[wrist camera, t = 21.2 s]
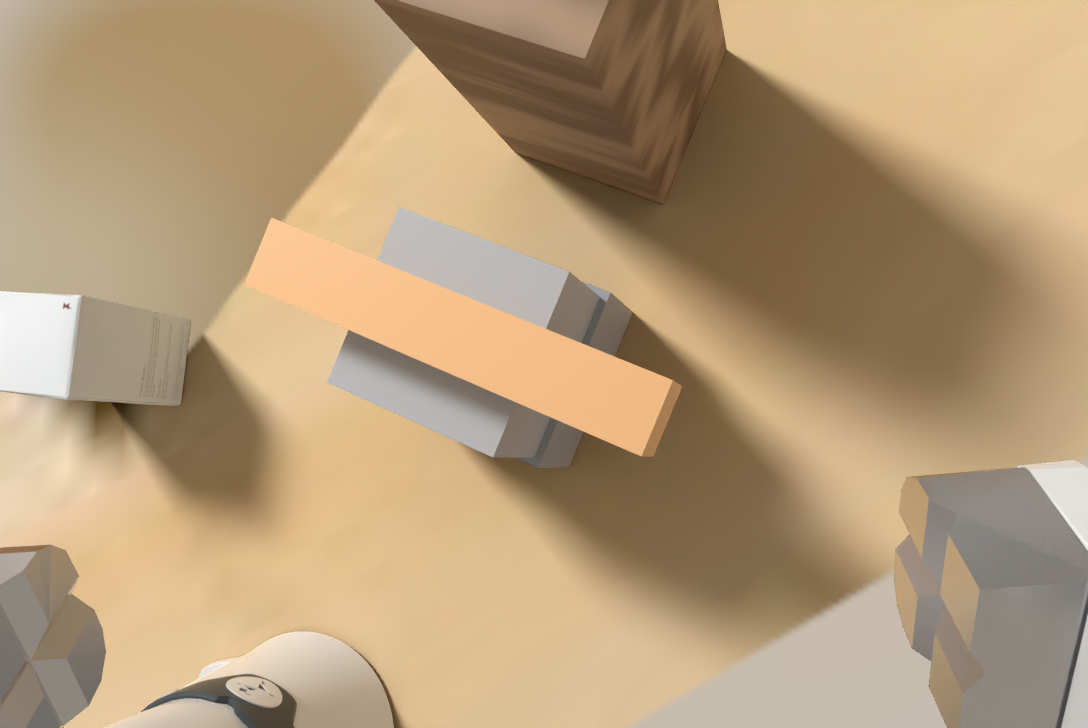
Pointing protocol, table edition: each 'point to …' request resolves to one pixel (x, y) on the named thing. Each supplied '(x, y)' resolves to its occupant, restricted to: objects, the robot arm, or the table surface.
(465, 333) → the orange bar
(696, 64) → the walnut post
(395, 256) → the slate pedestal
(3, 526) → the table surface
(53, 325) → the supplement box
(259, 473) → the table surface
